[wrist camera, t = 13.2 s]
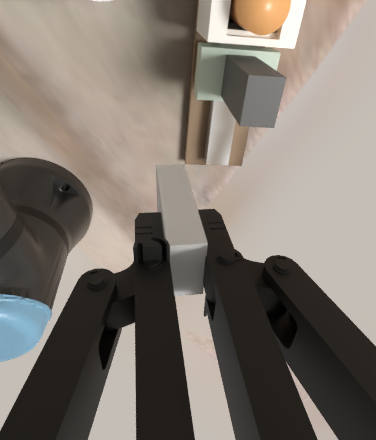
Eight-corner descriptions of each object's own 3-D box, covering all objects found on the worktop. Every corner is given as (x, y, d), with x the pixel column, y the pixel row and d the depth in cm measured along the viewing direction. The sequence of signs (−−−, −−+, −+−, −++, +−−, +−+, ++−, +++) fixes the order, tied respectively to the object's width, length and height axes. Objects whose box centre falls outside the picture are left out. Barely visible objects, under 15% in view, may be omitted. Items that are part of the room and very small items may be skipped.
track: (184, 159, 45) (186, 170, 42) (200, -40, 32) (204, -42, 30) (239, 161, 46) (244, 172, 43) (275, -32, 33) (287, -33, 31)
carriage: (192, 89, 37) (209, 130, 27) (196, 40, 34) (217, 65, 24) (258, 93, 38) (300, 134, 28) (268, 46, 35) (318, 72, 25)
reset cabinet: (196, 30, 35) (207, 41, 28) (202, -41, 31) (216, -48, 24) (266, 36, 36) (294, 48, 29) (280, -32, 32) (315, -36, 25)
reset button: (225, 26, 30) (236, 33, 26) (231, -27, 28) (245, -29, 24) (266, 30, 30) (283, 37, 26) (276, -23, 28) (297, -24, 24)
